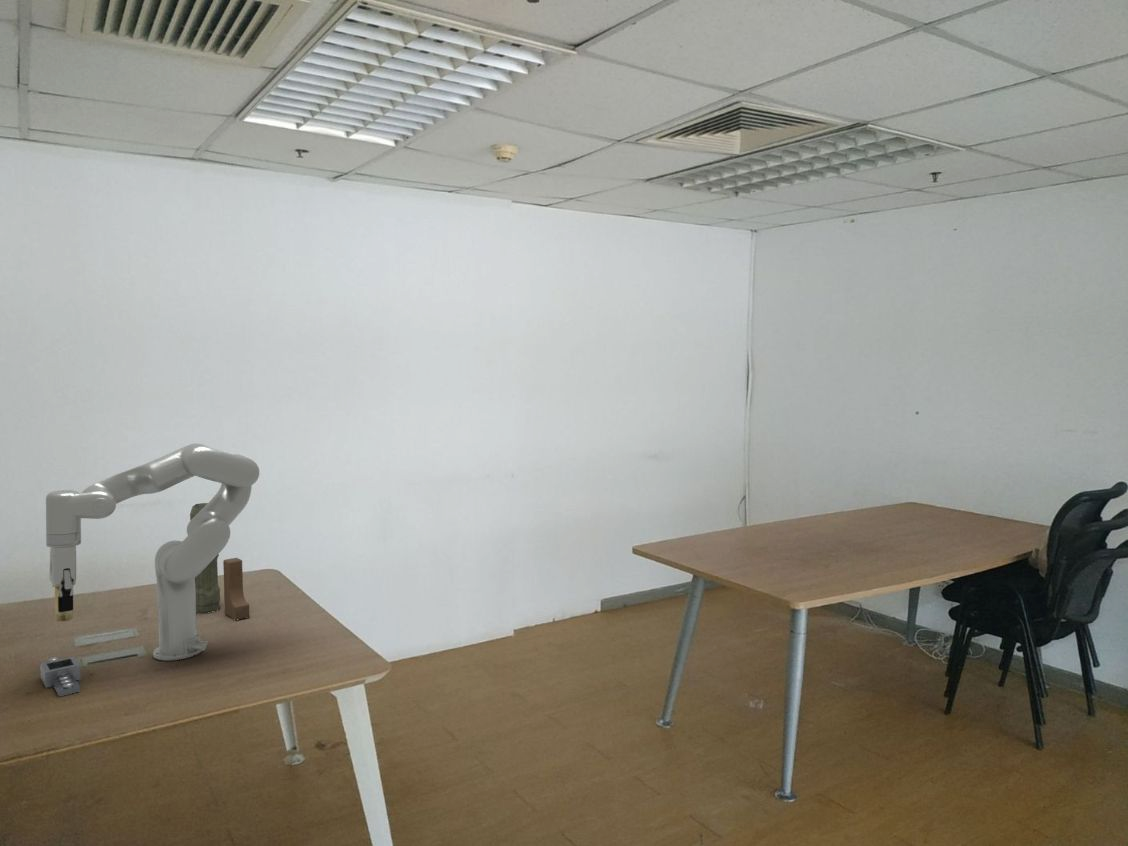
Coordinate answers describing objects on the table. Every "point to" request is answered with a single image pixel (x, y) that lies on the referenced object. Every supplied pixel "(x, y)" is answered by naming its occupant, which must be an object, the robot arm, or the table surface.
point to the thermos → (206, 579)
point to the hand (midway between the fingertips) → (64, 608)
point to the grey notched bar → (61, 675)
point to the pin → (58, 615)
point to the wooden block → (234, 589)
